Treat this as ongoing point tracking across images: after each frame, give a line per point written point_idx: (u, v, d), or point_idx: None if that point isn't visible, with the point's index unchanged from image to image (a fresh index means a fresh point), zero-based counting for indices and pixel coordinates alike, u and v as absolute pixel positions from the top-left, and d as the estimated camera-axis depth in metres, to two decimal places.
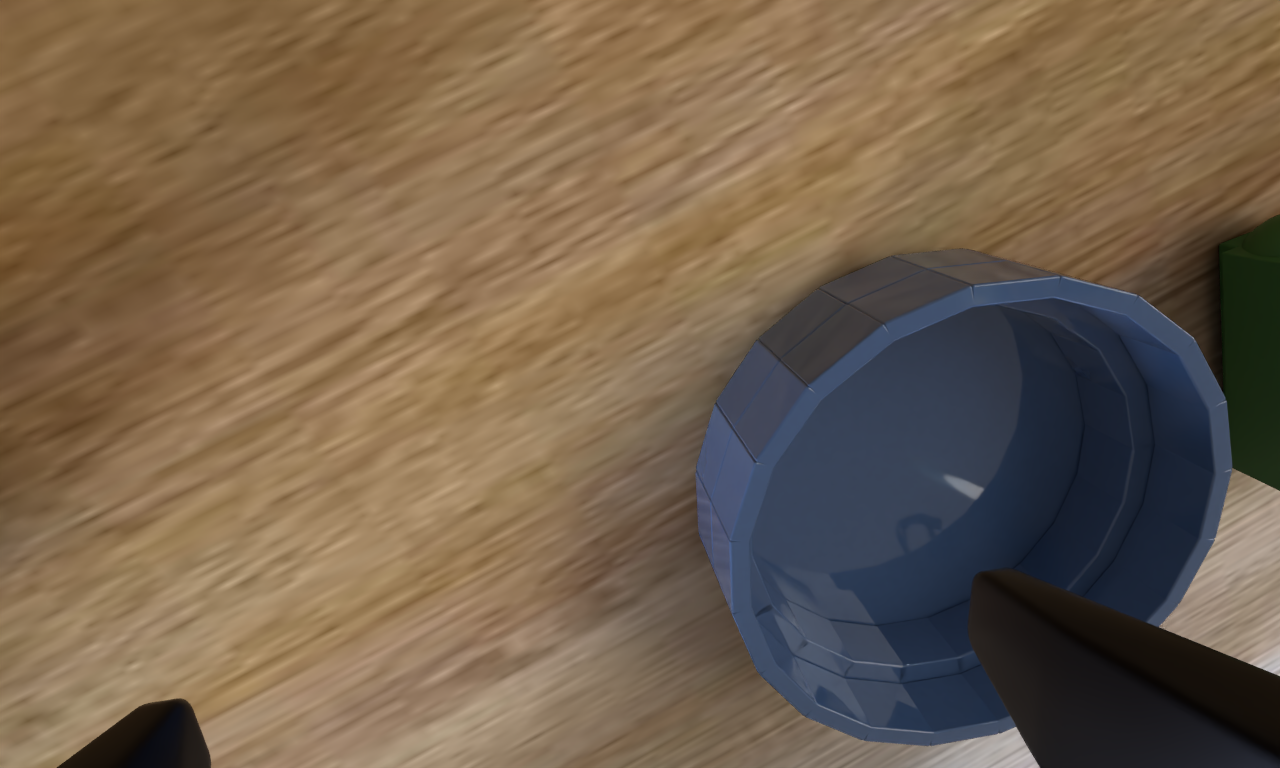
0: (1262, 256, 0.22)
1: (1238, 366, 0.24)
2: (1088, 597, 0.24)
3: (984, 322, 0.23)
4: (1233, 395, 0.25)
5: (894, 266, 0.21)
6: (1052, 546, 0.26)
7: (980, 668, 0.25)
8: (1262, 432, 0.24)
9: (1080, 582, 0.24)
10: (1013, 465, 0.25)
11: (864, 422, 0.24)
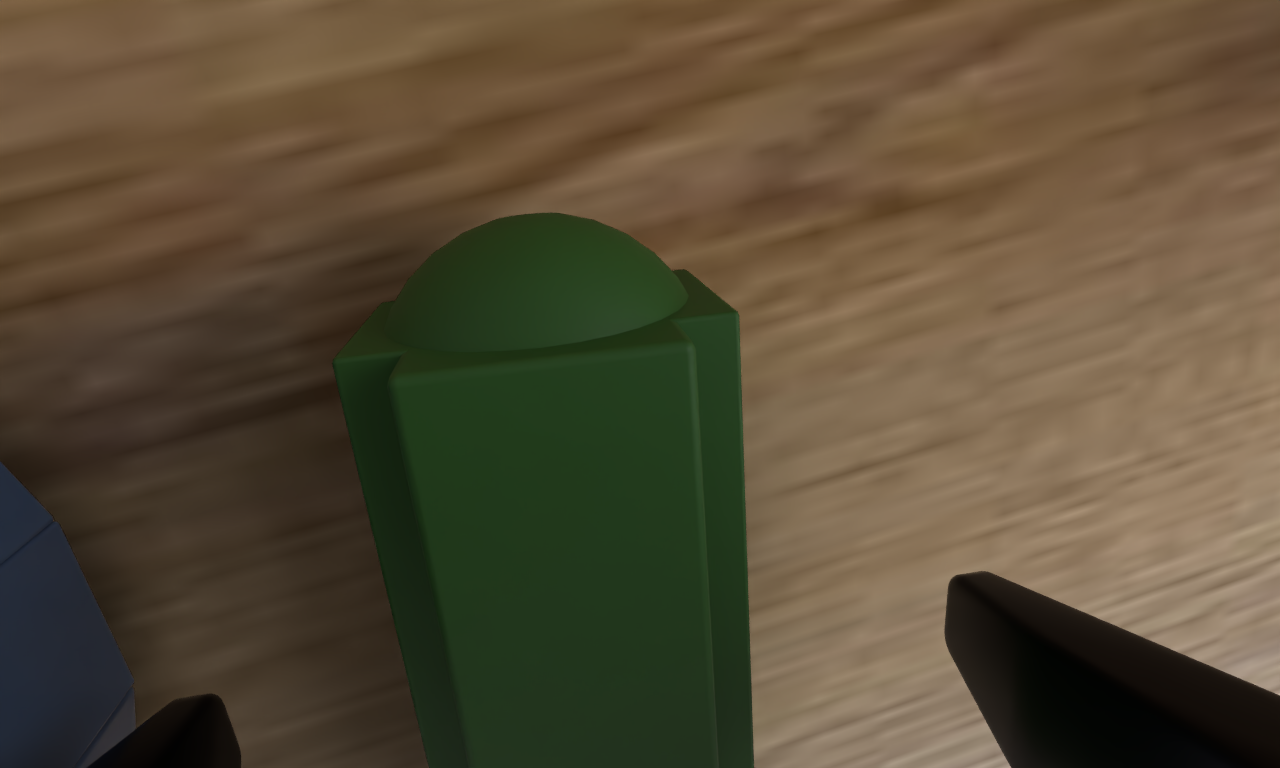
0: (372, 325, 0.07)
1: None
2: None
3: None
4: None
5: None
6: None
7: None
8: None
9: None
10: None
11: None
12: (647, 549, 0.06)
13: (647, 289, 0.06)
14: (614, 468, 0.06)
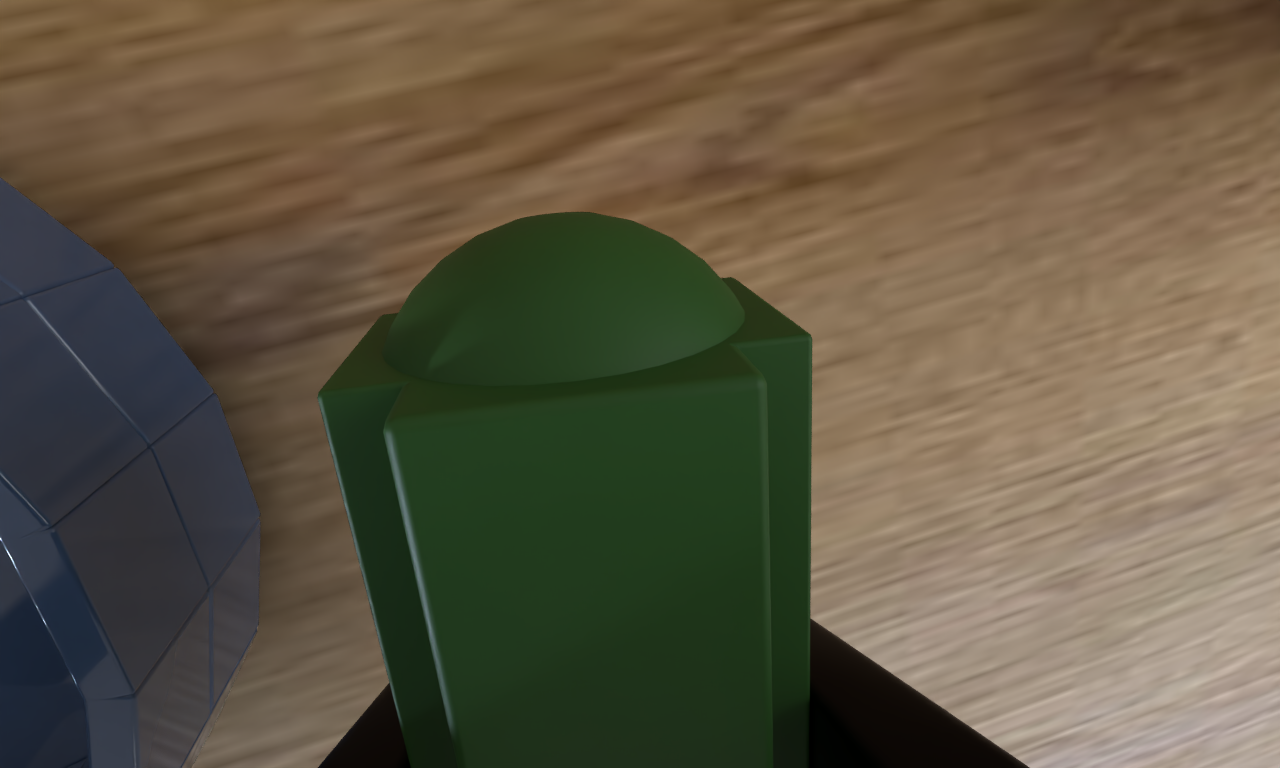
0: (369, 346, 0.06)
1: None
2: None
3: None
4: None
5: None
6: None
7: None
8: None
9: None
10: None
11: None
12: (700, 625, 0.05)
13: (701, 306, 0.05)
14: (663, 530, 0.05)
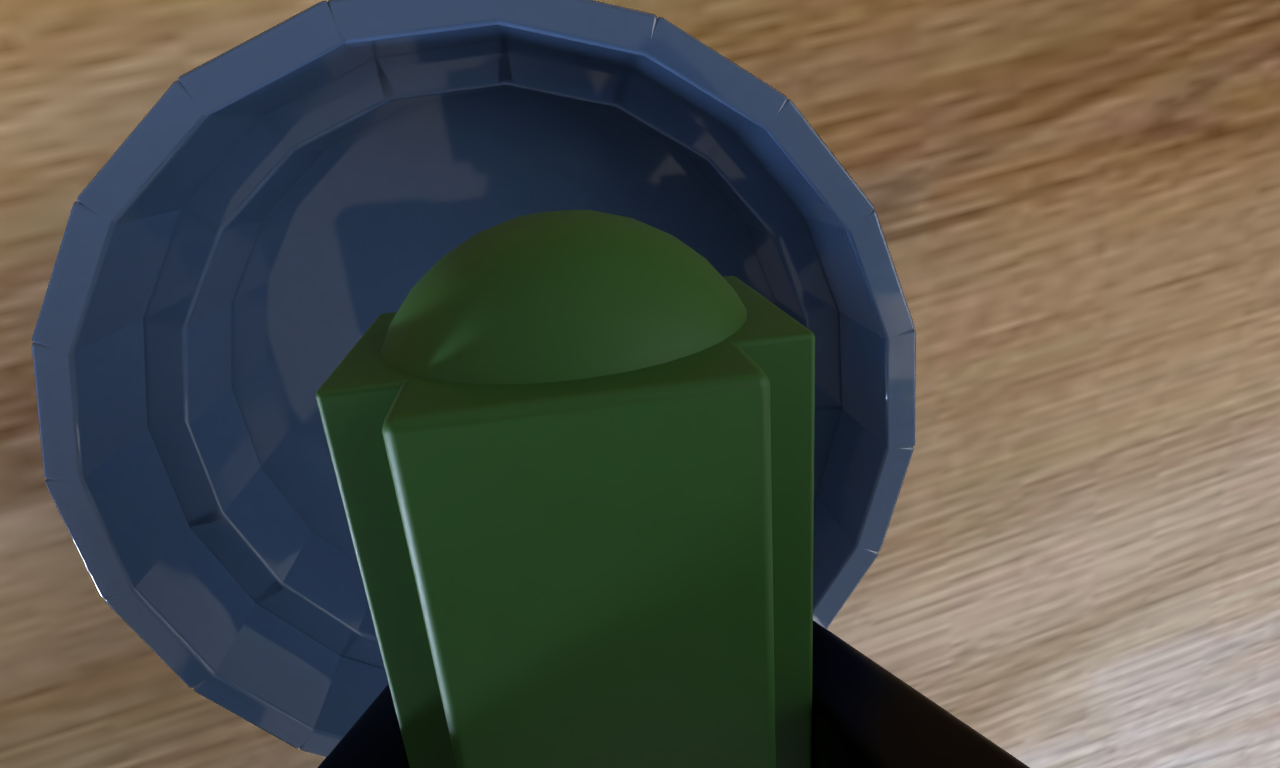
0: (367, 345, 0.06)
1: None
2: None
3: (647, 177, 0.16)
4: None
5: None
6: None
7: None
8: None
9: None
10: None
11: None
12: (702, 626, 0.05)
13: (702, 304, 0.05)
14: (665, 530, 0.05)
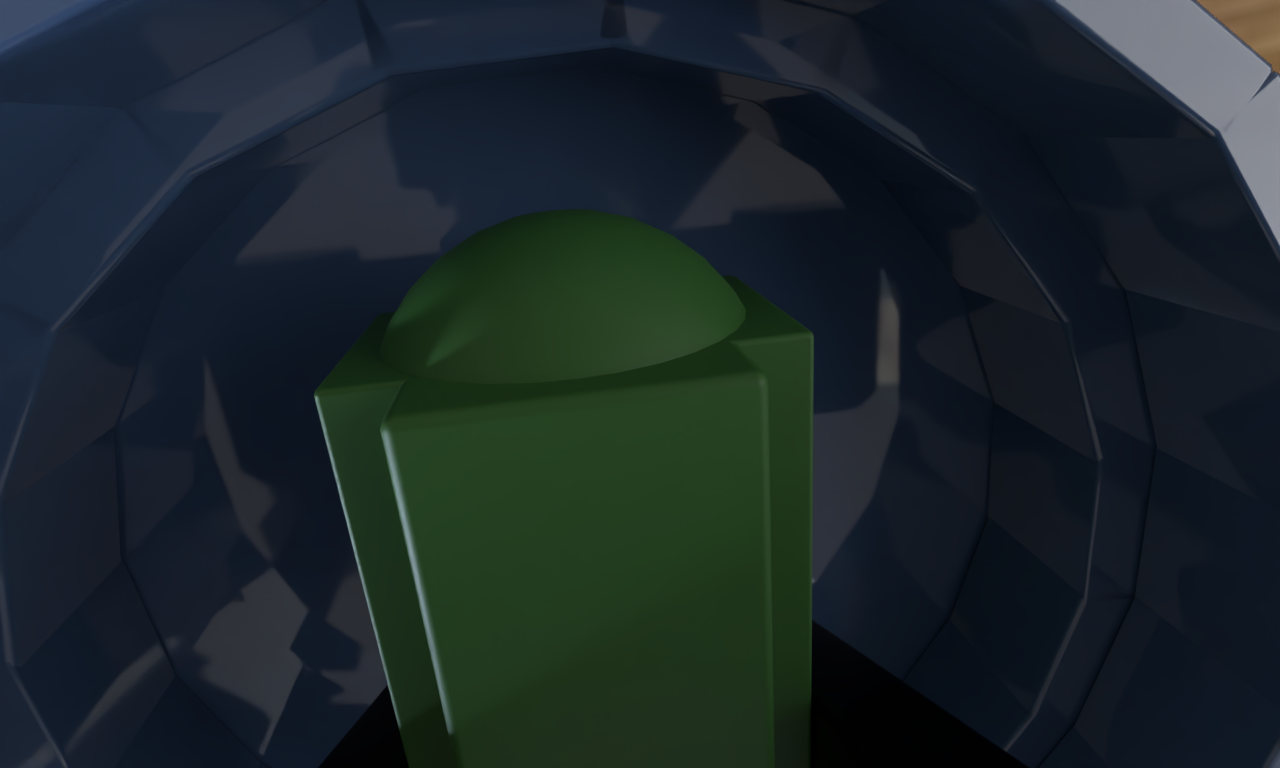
0: (366, 344, 0.06)
1: None
2: None
3: (813, 216, 0.09)
4: None
5: None
6: None
7: None
8: None
9: None
10: (822, 571, 0.11)
11: None
12: (701, 625, 0.05)
13: (701, 304, 0.05)
14: (663, 529, 0.05)
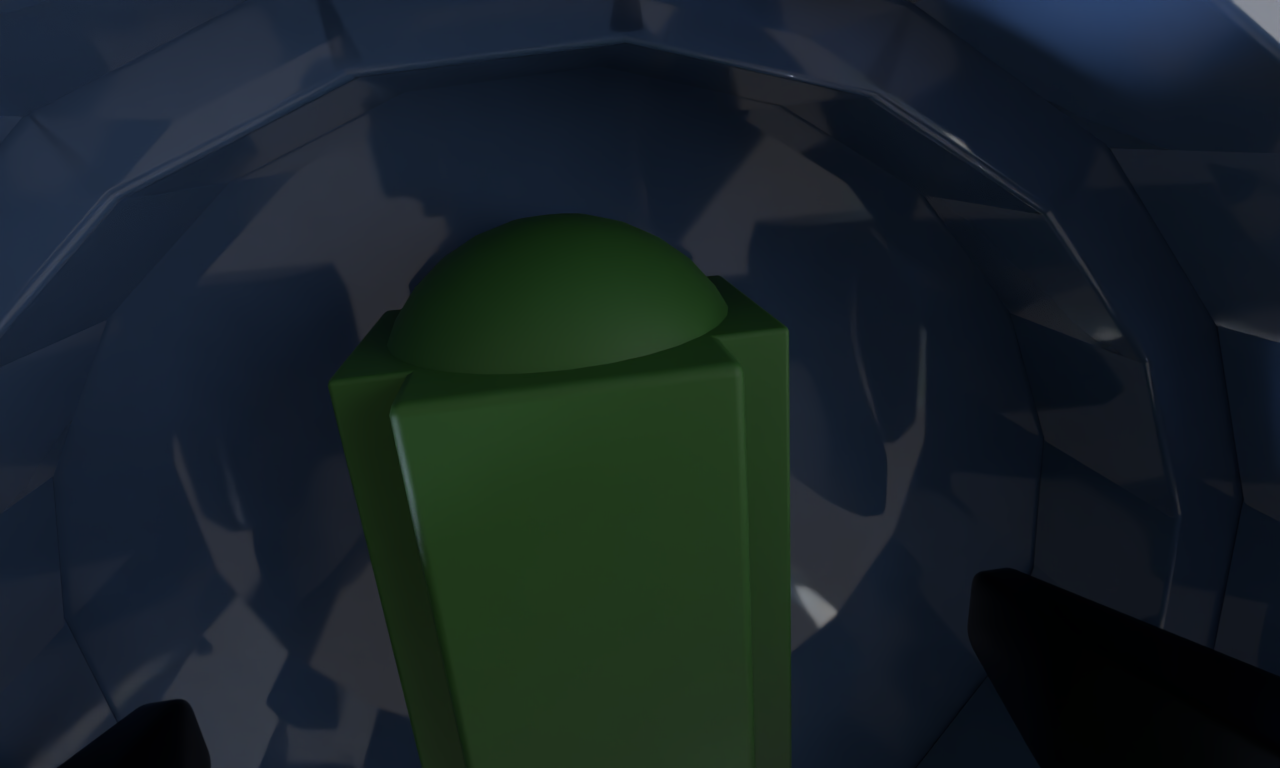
0: (374, 339, 0.06)
1: None
2: None
3: (847, 235, 0.08)
4: None
5: None
6: None
7: None
8: None
9: None
10: (851, 625, 0.10)
11: None
12: (684, 598, 0.05)
13: (685, 301, 0.06)
14: (648, 508, 0.05)
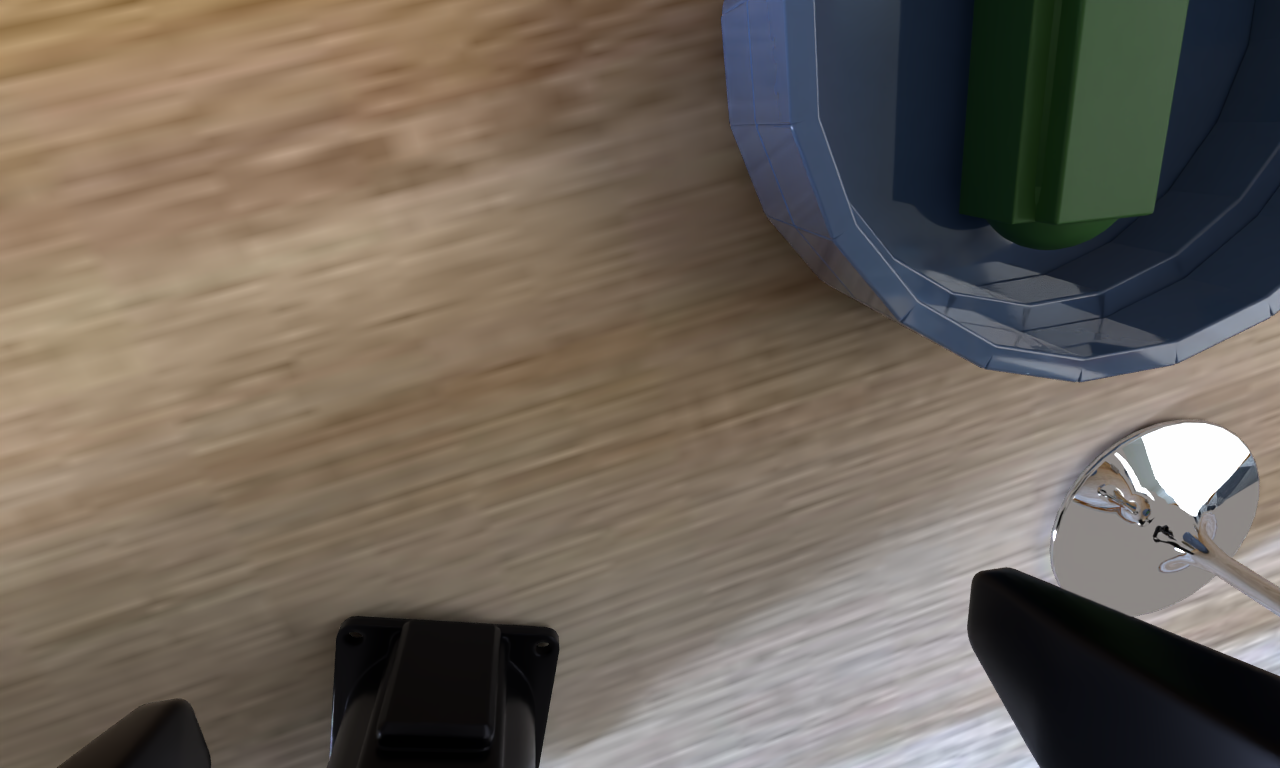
0: None
1: (985, 21, 0.16)
2: (1214, 258, 0.18)
3: None
4: (975, 80, 0.17)
5: None
6: (1165, 211, 0.19)
7: (1050, 329, 0.18)
8: (998, 128, 0.16)
9: (1207, 236, 0.18)
10: None
11: None
12: None
13: None
14: None
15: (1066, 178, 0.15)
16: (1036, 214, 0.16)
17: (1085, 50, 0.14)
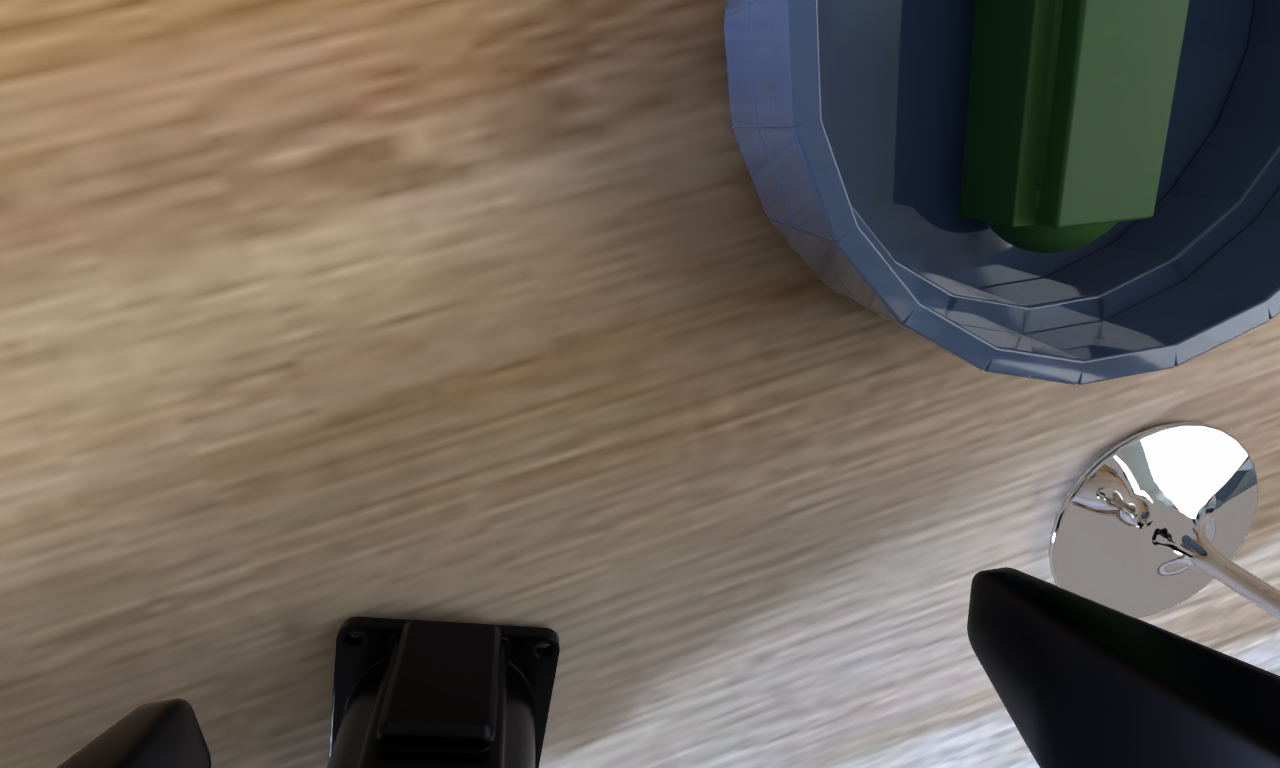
0: None
1: (986, 26, 0.16)
2: (1212, 262, 0.18)
3: None
4: (976, 84, 0.17)
5: None
6: (1164, 215, 0.19)
7: (1050, 331, 0.18)
8: (999, 131, 0.16)
9: (1206, 240, 0.18)
10: None
11: None
12: None
13: None
14: None
15: (1066, 181, 0.15)
16: (1036, 217, 0.16)
17: (1085, 54, 0.14)
